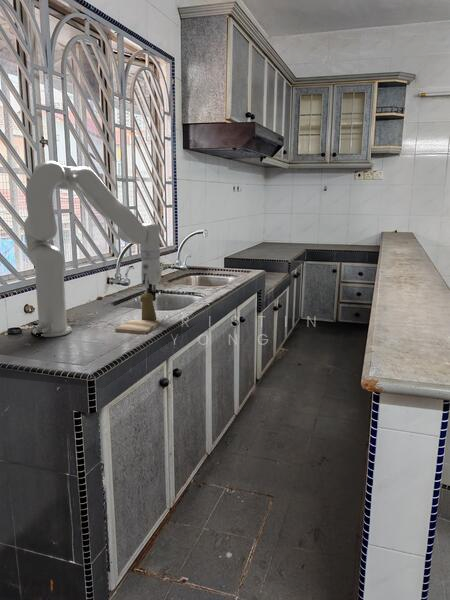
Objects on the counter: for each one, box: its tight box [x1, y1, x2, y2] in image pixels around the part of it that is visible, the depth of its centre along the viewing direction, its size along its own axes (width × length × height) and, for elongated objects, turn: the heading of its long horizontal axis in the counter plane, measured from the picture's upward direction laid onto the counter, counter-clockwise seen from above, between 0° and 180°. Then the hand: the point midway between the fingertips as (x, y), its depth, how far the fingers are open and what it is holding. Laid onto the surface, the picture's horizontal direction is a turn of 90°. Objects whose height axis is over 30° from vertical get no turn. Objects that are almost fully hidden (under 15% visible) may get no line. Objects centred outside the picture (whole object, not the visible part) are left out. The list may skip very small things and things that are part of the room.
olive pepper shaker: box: [139, 292, 158, 321], centre depth 192 cm, size 6×6×11 cm
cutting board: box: [115, 318, 161, 335], centre depth 184 cm, size 14×12×1 cm
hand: (151, 300), depth 196 cm, fingers closed
